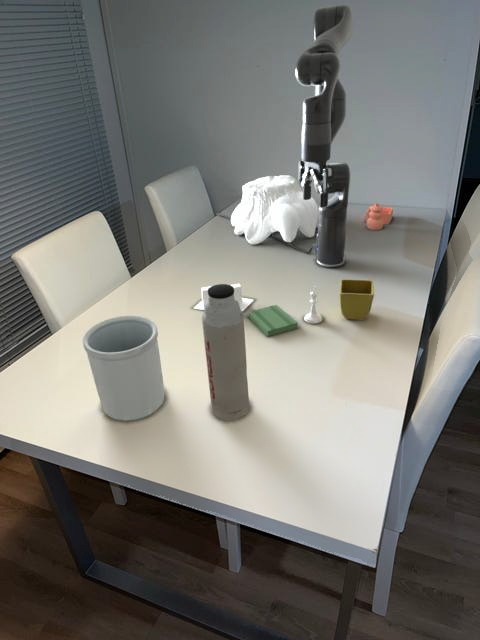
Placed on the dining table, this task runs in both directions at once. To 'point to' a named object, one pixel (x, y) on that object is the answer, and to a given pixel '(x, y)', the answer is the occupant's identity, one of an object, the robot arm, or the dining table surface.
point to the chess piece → (313, 310)
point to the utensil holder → (126, 366)
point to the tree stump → (274, 210)
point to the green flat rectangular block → (272, 320)
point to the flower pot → (356, 298)
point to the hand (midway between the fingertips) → (314, 202)
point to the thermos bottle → (225, 353)
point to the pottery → (378, 216)
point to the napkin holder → (237, 296)
